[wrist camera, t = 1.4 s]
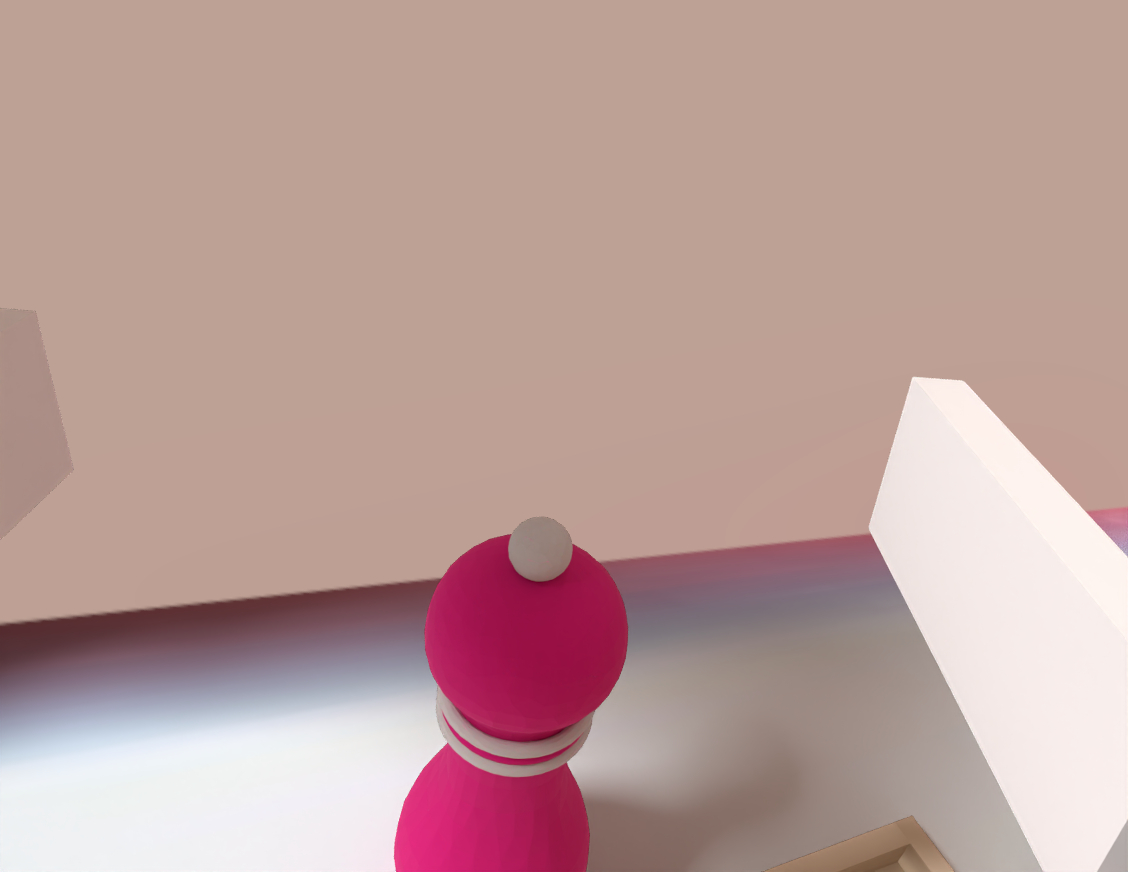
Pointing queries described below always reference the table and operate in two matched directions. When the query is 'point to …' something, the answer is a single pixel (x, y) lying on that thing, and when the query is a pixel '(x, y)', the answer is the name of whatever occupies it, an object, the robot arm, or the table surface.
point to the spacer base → (876, 853)
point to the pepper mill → (513, 705)
